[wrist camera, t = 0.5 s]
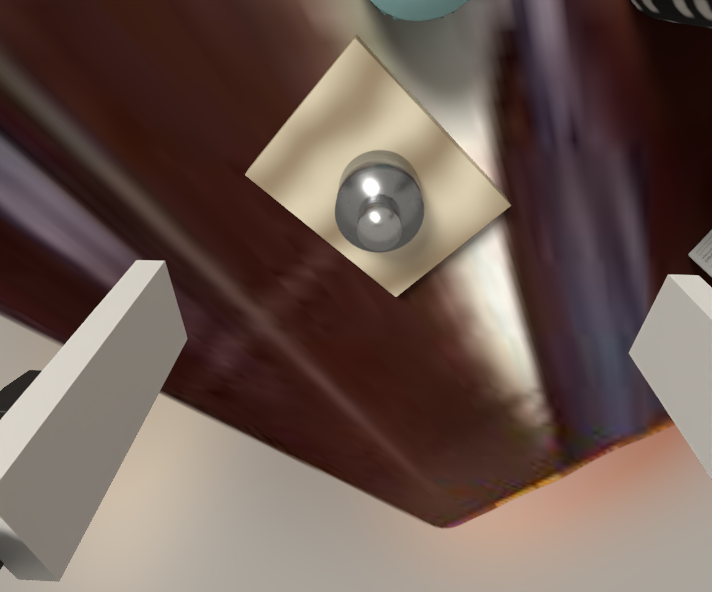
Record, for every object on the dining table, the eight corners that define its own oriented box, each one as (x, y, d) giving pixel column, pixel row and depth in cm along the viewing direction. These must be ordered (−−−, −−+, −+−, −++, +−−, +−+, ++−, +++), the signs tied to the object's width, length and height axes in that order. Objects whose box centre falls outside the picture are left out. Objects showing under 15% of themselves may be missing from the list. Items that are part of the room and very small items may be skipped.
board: (251, 165, 34) (244, 174, 33) (356, 34, 29) (355, 37, 27) (395, 284, 40) (395, 297, 39) (504, 194, 35) (511, 205, 33)
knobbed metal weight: (322, 191, 33) (311, 232, 28) (378, 131, 30) (378, 165, 25) (379, 240, 35) (379, 286, 30) (436, 189, 33) (447, 230, 27)
